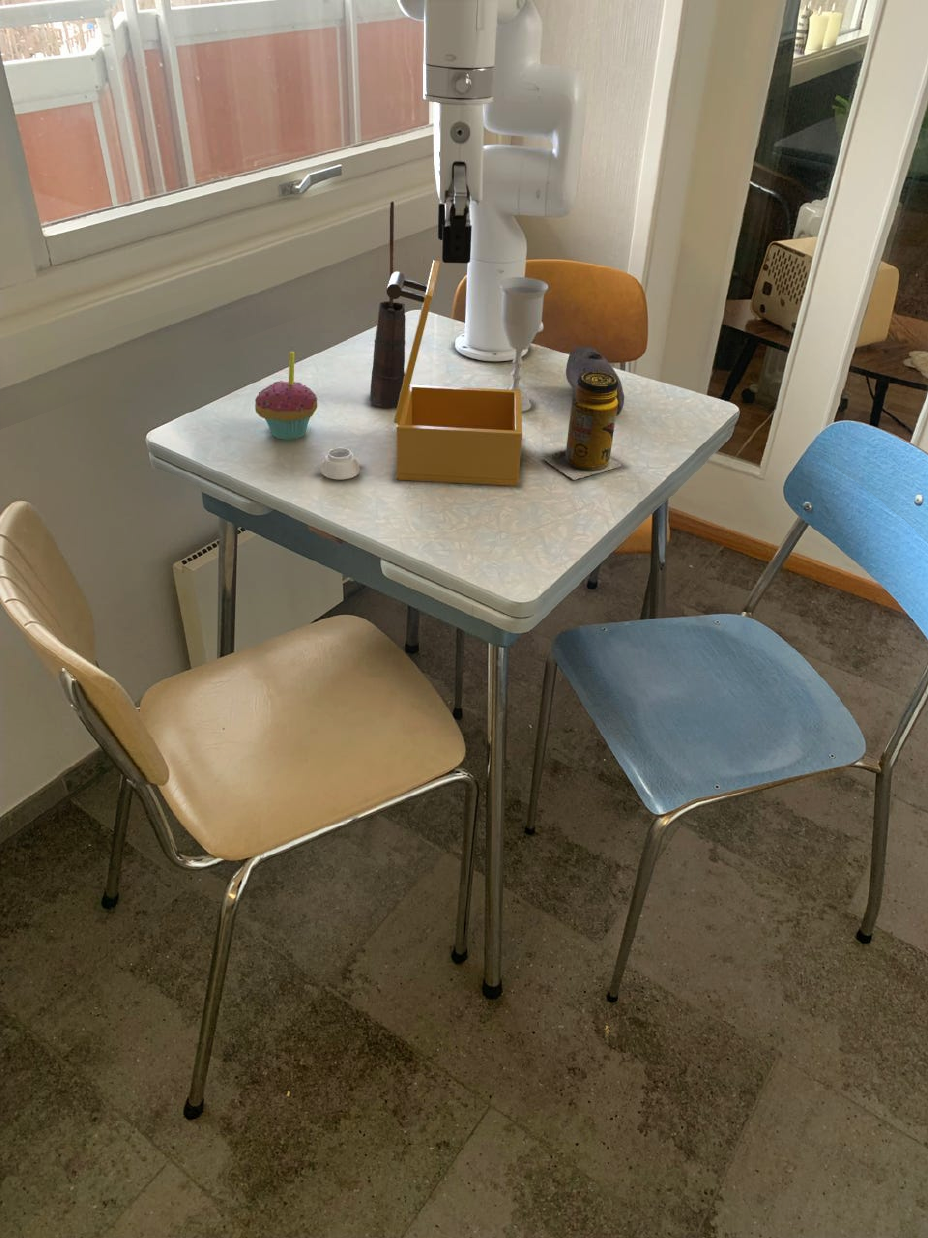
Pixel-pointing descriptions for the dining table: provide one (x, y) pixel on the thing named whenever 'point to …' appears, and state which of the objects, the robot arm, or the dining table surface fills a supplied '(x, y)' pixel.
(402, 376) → the butter churn
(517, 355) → the chalice
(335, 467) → the white jar
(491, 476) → the open wooden box
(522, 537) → the dining table surface
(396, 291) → the lid
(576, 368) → the perforated stone tool
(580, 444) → the condiment
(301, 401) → the cupcake
